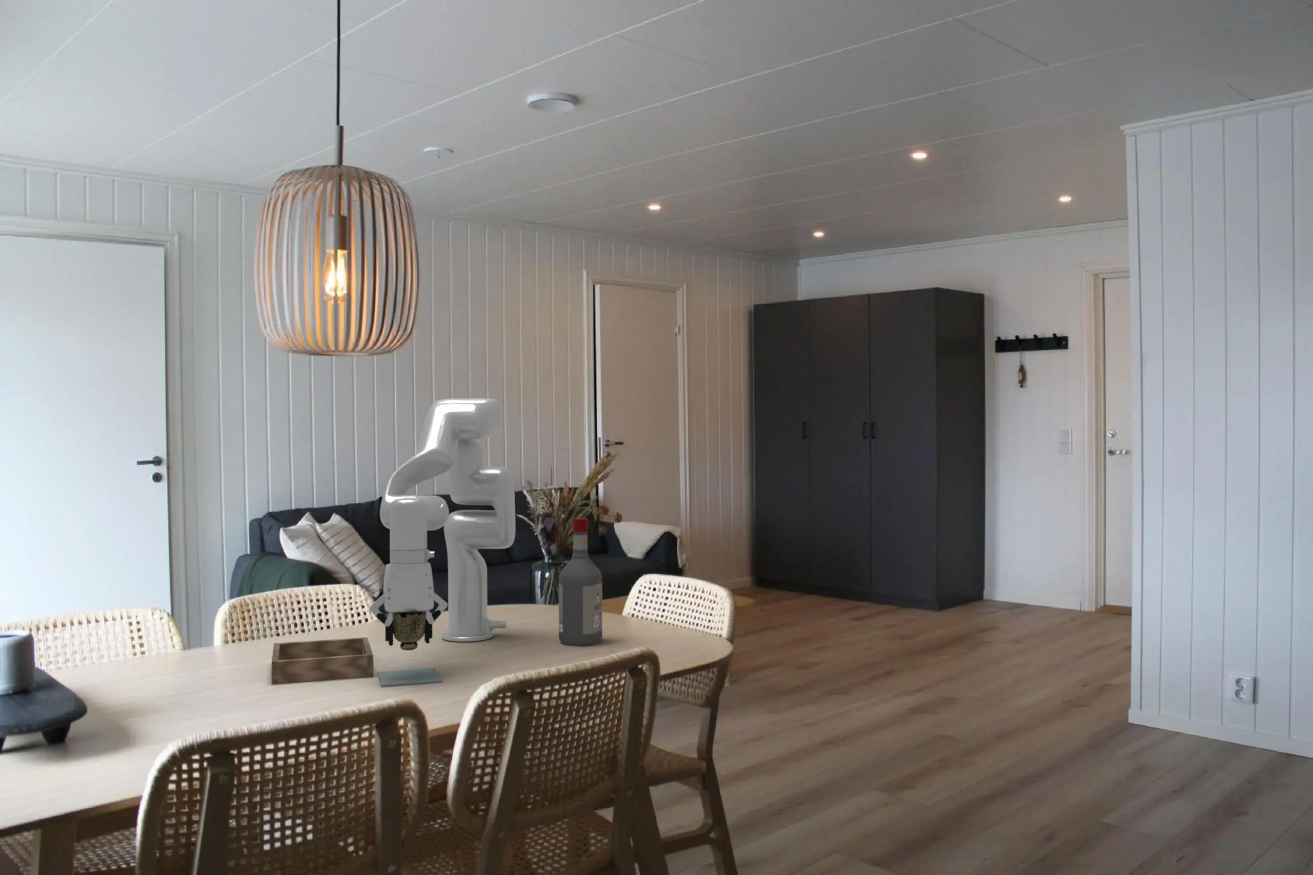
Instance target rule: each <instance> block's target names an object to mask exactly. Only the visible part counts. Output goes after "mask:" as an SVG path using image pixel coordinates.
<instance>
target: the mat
mask: <svg viewBox="0 0 1313 875" xmlns="http://www.w3.org/2000/svg"><path fill="white" fill-rule="evenodd" d="M377 676H378V680H379V683H380V685H381V688H384V687H385V688H386V687H399V686H411V685H412V686H413V685H422V684H424V685H425V684H435V683H437V684H438V683H443V680H442V679H443V678H441V676H440V674H439V672H438V671H437V669H436V667H430V668H429V667H426V668H416V669H415V668H414V669H401V670H390V671H388V670H387V671H377Z"/></svg>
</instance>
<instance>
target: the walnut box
mask: <svg viewBox="0 0 1313 875" xmlns="http://www.w3.org/2000/svg"><path fill="white" fill-rule="evenodd" d="M373 653H374V652H373V650H372V648H371V644H370V641H369V638H368V637H350V638H338V639H337V638H336V639H322V640H320V639H319V640H307V641H305V640H304V641H303V640H302V641H289V642H286V641H285V642H273V648H272V656H271V685H278V684H292V683H303V682H317V681H331V680H344V679H358V678H369V677H370V678H371V677H374V654H373Z"/></svg>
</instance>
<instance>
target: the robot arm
mask: <svg viewBox="0 0 1313 875" xmlns="http://www.w3.org/2000/svg"><path fill="white" fill-rule="evenodd" d="M503 419H504V411H503V408H502V405H501V404H500V403H499V401H498V400H497V399H495V398H483V397H482V398H465V397H464V398H462V397H459V398H443V399H438V400H436V401H434V402H433V403H432V404H431V406H430V408H429V409H428V411H427V412H426V416H425V418H424V421H423V427H422V429H421V433H420V438H419V440H418V444H417V448H416V452H415V454H414V455H413V456H411V457H410V458H409V459H407V460H406V461H405V462H403V463H402V464H401V465H400V466H399V467H398V468H397V469H396V470H395V471H394V472H393V473H392V474H391V476H389V478H388V480H387V482H386V485H385V488H384V492H383V495H382V499H381V503H380V510H379V517H380V521H381V523H382V525H383V526H384V527H385V528H387V529H389V563H388V564H385V570H384V575H383V576H384V577H383V587H382V588H383V589H382V590H383V592H382V595H381V596H380V597H378V598H377V599H376V600H375V601H374V602H373V603H372V604H371V605H370V606H369V607H368V608H369V611H370V612H371V613H372V614H373V615H374V616H375V617H376V619H377V620H379V621H380V622H381V623H382V624H383V625H384V626H385V628H384V630H385V631H384V633H385V634H384V635H385V636H384V638H385V639H384V640H385V642H388V646H389V647H392V646H394V634H393V626H392V620H393V616H392V613H394V614H396V613H414V612H415V613H416V612H423V613H425V612H426V613H427V614H426V626H425V632H424V635H423V638H424V643H426V644H430V639H433V624H434V623H435V621H436V620H437V619H438V618H439V617H440V616H441V615H442V613H443V612H444V611H445V610H446V609H447V608H448V614H447V616H448V617H447V618H448V621H447V622H448V630H446V631H443V632H442V634H441V637H442V639H443V640H444V641H450V642H463V643H465V642H467V643H469V642H479V641H486V640H489V639H491V638H493V637H494V634H495V633H494V629H507V620H499V619H497V620H493V619H490V618H489V617H488V567H487V566H488V565H487V564H486V561H485V559H484V558H483V556H482V555H481V553H480V552H479V551H478V550H481V549H483V550H487V549H488V550H489V549H490V550H494V549H495V550H498V549H499V550H502V549H503V550H504V549H507V548H510V547H511V546H512V545H513V544H514V541H515V538H516V504H515V503H516V501H515V498H516V497H515V496H516V495H515V494H516V493H515V481H514V477H513V475H512V472H511V471H510V470H509V469H508V468H506V467H504V466H486V465H485V464H484V454H483V453H484V450H483V444H482V443H481V440H483V439H487V438H489V437H491V436H492V435H495V434H496V433H498V431H499V430H500V429H501V426H502V424H503V421H504V420H503ZM447 472H448V484H449V485H448V488H449V490H448V491H449V496H450V500H451V501H453V503H455V504H457V505H464V506H465V505H466V506H467V505H468V506H492V507H493V508H494V510H492V509H491V510H488V509H485V510H483V509H461V510H455V511H452V512H450V511H449V510H450V509H449V505H448V504H447V501H446V500H445V499H444V498H443V497H441V496H438V495H432V494H431V495H430V494H429V495H426V494H423V495H420V494H406V493H407V492H408V491H409V490H410V489H412V488H413V487H415V486H416V485H419V484H421V483H423V482H426V481H428V480H431V479H433V478H434V479H435V478H436V477H439V476H440V475H443V474H445V473H447ZM441 528H443V532H444V539H445V543H446V544H445V545H446V551H447V572H448V573H447V575H448V576H447V577H448V578H447V580H448V581H447V583H448V584H447V585H448V586H447V589H448V594H447V597H448V598H447V599H448V600H447V601H448V602H446V601H445V600H444V599H443V598H442V597H441V596H439V594H437V593H436V592H435V587H434V579H433V571H432V564H431V563H430V562H428V560H429V559H432V558H435V551H434V550H429V549H428V531H436V530H440V529H441ZM435 603H437V604H438V606H437V608H436V609H434V607H435V606H434V605H435ZM382 605H383V608H384V611H385V612H386V615H384V614H383V613H382V612H381V611H380V610H379V608H380V607H381V606H382ZM433 609H434V611H432V610H433ZM430 611H432V613H431V612H430Z"/></svg>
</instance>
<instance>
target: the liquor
mask: <svg viewBox="0 0 1313 875" xmlns="http://www.w3.org/2000/svg"><path fill="white" fill-rule="evenodd" d="M588 522H589V519H588V518H586V517H577V518H576V517H575V518H572V533H573V534H572V535H573V537H572V538H573V540H572V543H573V544H572V545H573V546H572V547H573V549H572V555H571V557H572V558H571V559H570V560H569V562H568V563H567V564H566V565H565V566H564V567H563V569H562V570H561V571H560V573H559V576H558V640H559V642H560V643H561V645H562V644H563V645H564V646H576V647H587V646H594V645H596V644H599V643H600V642H601V641H602V639H603V575H602V572H601V570H600V569H599V568H598V567H597V566H596V565H595V563H594V562H593V561H592V560H591V558H589V557H590V556H589V553H588V531H589V523H588ZM599 641H600V642H599Z"/></svg>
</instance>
